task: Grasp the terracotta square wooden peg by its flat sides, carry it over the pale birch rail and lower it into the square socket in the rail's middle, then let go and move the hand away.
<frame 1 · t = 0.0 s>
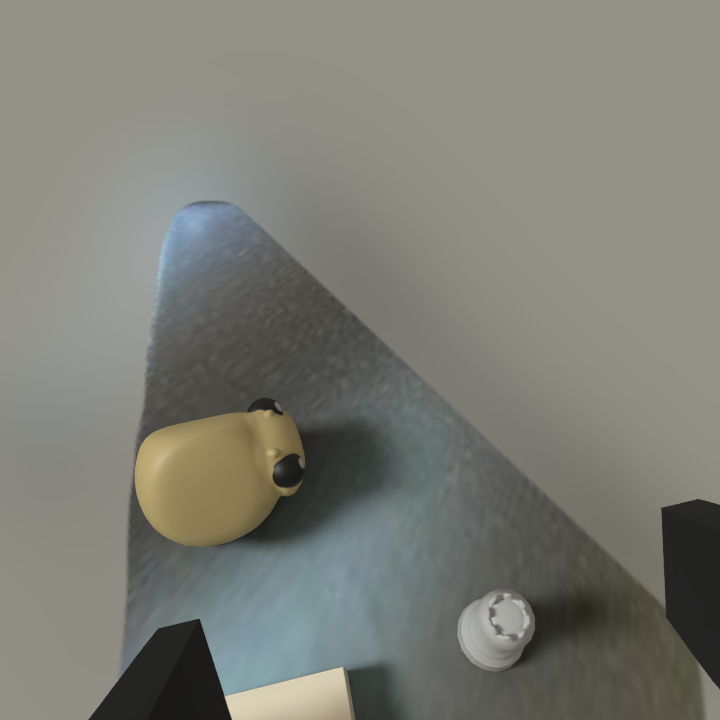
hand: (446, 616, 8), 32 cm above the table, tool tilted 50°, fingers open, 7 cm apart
rook chess piece: (489, 635, 37), on the table
yellow toy creature: (242, 495, 43), on the table
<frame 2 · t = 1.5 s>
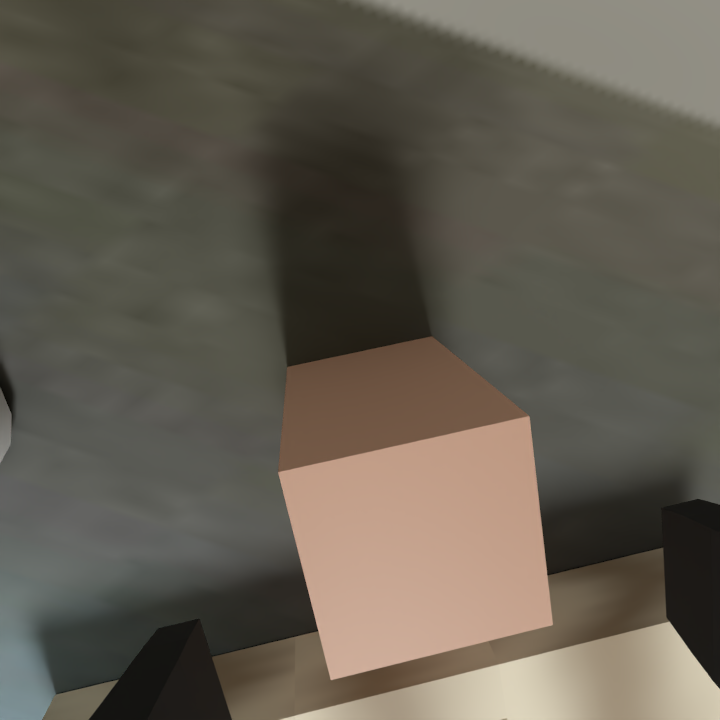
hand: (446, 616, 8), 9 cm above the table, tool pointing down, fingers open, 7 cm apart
square peg: (373, 419, 16), on the table
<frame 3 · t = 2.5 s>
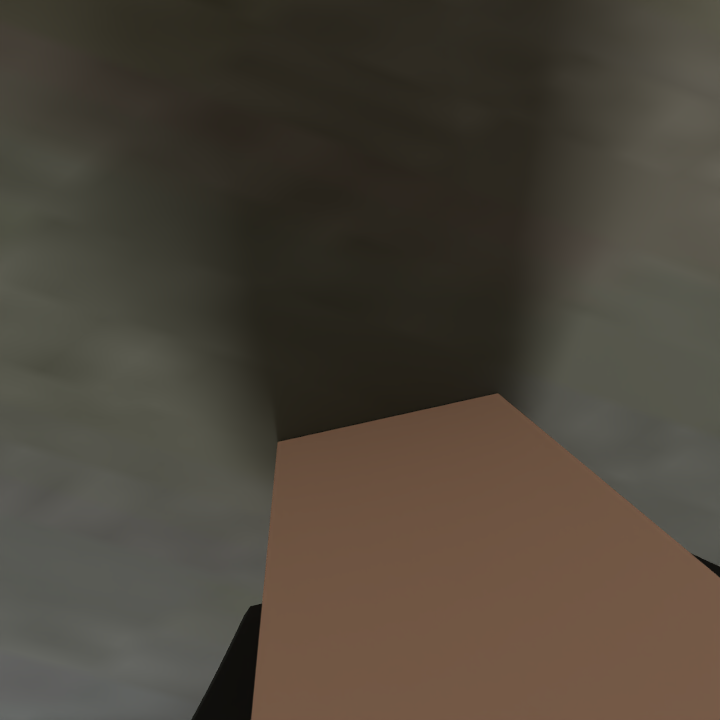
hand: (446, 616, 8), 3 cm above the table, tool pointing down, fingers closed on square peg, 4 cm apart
square peg: (407, 515, 11), on the table, touching gripper
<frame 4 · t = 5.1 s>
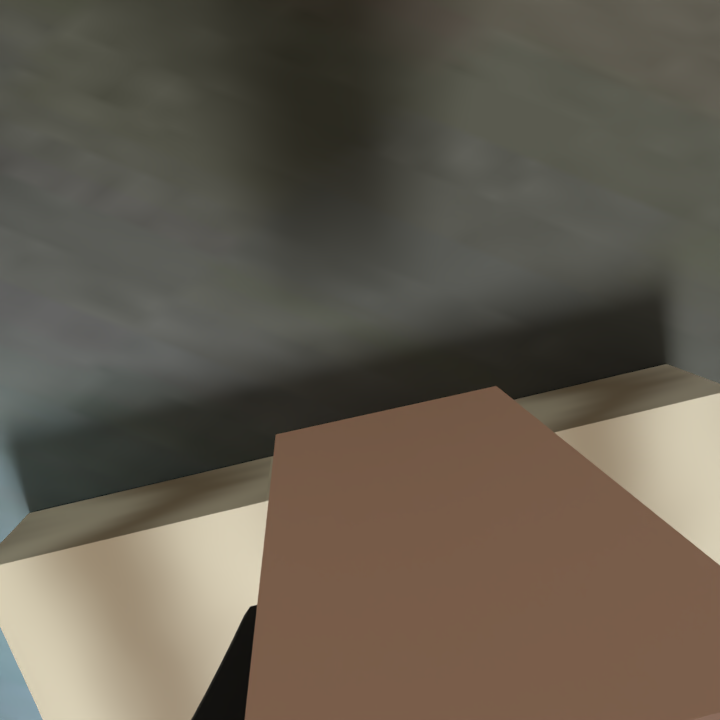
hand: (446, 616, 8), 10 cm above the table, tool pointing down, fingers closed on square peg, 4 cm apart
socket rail: (386, 561, 19), on the table
square peg: (406, 509, 11), point 7 cm above the table, touching gripper
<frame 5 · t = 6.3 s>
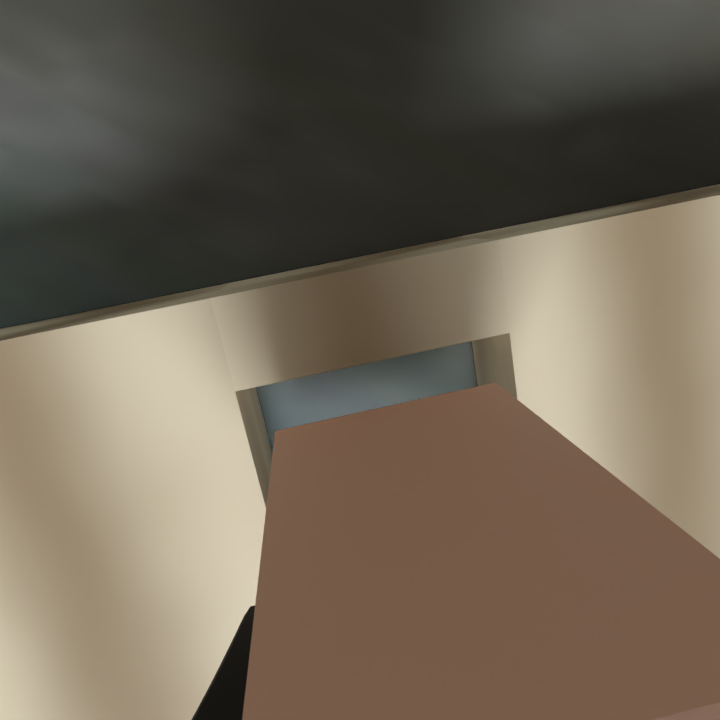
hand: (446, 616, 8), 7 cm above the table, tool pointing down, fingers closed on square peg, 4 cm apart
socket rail: (378, 436, 15), on the table
square peg: (405, 505, 11), point 4 cm above the table, touching gripper
when the fingers open (4 cm above the table, at t = 7.5 s): square peg stays where it is, resting in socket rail.
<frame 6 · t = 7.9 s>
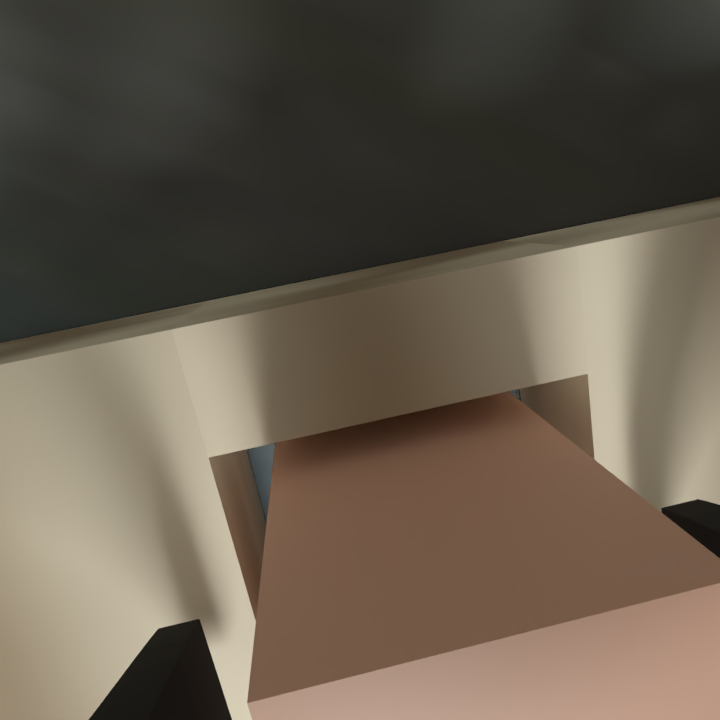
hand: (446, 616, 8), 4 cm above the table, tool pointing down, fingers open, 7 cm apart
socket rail: (399, 492, 12), on the table
square peg: (398, 483, 12), resting in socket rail
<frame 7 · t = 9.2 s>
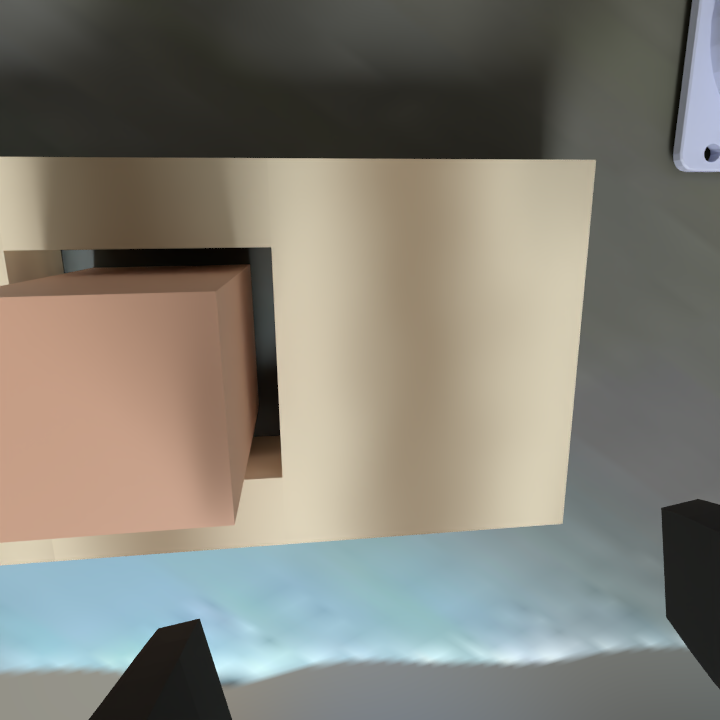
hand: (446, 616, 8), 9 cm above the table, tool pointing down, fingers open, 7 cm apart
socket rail: (179, 347, 16), on the table
square peg: (180, 340, 16), resting in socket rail
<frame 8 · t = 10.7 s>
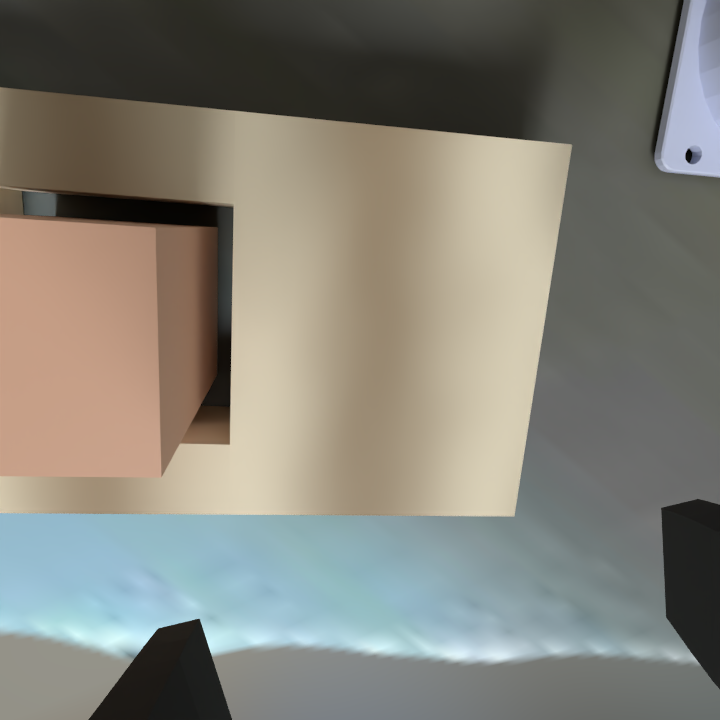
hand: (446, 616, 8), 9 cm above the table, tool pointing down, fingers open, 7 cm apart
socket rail: (139, 306, 16), on the table
square peg: (140, 299, 16), resting in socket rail
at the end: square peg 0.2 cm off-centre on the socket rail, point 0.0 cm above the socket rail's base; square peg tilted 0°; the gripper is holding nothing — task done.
